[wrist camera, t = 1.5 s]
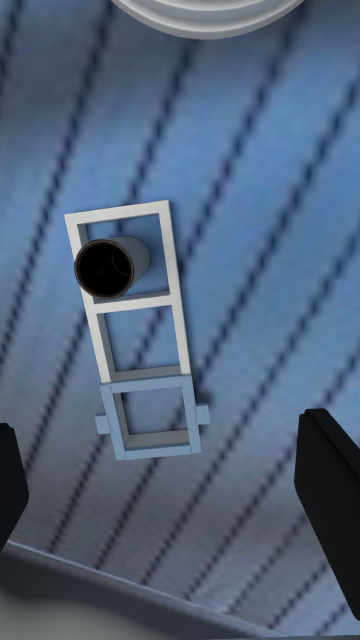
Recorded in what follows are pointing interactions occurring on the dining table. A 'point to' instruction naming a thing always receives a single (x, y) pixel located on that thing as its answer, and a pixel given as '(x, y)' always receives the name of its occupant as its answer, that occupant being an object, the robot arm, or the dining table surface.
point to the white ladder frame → (141, 378)
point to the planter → (111, 266)
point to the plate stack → (207, 15)
